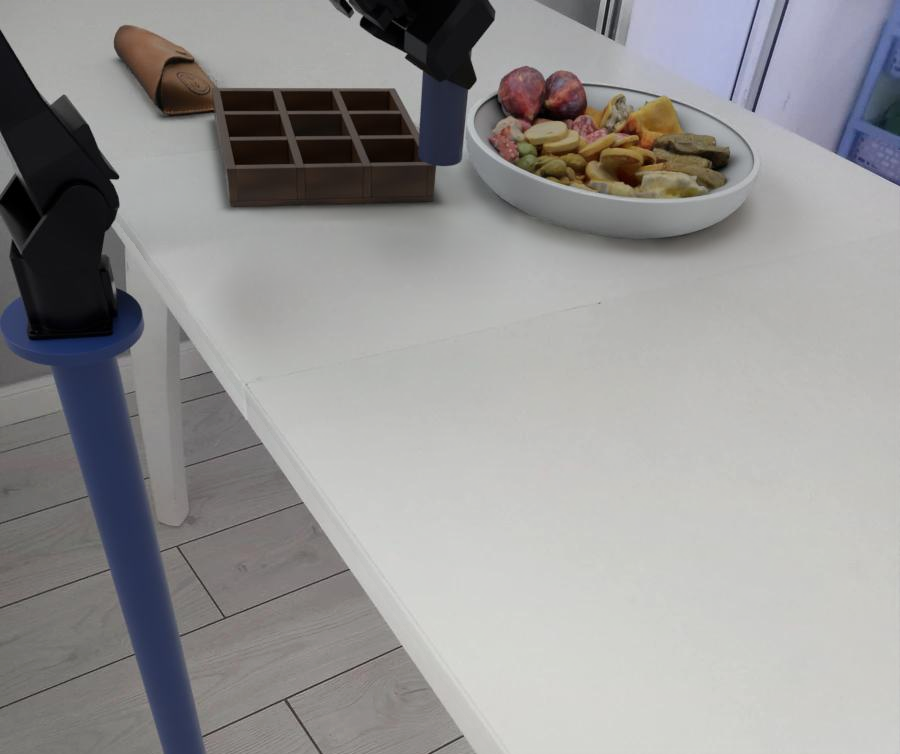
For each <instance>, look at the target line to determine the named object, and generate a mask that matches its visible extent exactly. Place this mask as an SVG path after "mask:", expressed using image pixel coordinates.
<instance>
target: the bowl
mask: <svg viewBox="0 0 900 754" xmlns="http://www.w3.org/2000/svg"><path fill="white" fill-rule="evenodd" d="M465 142H466V149H467V153H468V155H469V156H468V157H469V159H470V161H471V164H472V165H473V168H474V169H475V171H476V173H477V174H478V176H479V177H480V178H481V180H482V181H483V182H484V183H485V184H486V185H487V187H488V188H490V190H491V191H493V192H494V193H495V194H497V196H499V197H500V198H501V199H502V200H504V201H505V202H507V203H508V204H509V205H511V206H513V207H515V208H517V209H518V210H520V211H522V212H524V213H526V214H528V215H530V216H532V217H534V218H536V219H539V220H542V221H545V222H547V223H550V224H552V225H555V226H558V227H562V228H566V229H570V230H573V231H578V232H581V233H587V234H591V235H598V236H604V237H612V238H620V239H621V238H623V239H660V238H671V237H676V236H682V235H688V234H691V233H695V232H699V231H702V230H704V229H706V228H709V227H711V226H713V225H716V224H719V222H721V221H723V220H724V219H726V218H728V217H729V216H730V215H732V214H733V213H734V212H735V211H736V210H737V209H739V208H740V207H741V205H742V204H743V203H745V201H746V200H747V199H748V197H749V195H750V194H751V192H752V190H753V189H754V187H755V185H756V183H757V180H758V177H759V174H760V171H761V167H762V160H761V159H762V158H761V155H760V152H759V150H758V148H757V146H756V145H755V143H754V141H752V139H750V137H749V136H748V135H746V133H745V132H743V130H741V129H739V128H738V127H737V126H735V125H734V124H733V123H732V122H730V121H728V120H727V119H726V118H725V119H724V118H723V117H722V116H719V115H717V114H715V112H712V111H710V110H707V109H706V108H704V107H701V106H698V105H696V104H693V103H691V102H688V101H686V100H682V99H680V98H677V97H673V96H671V95H666V94H663V93H659V92H655V91H652V90H646V89H643V88H638V87H632V86H629V85H622V84H615V83H607V82H601V81H600V82H599V81H588V80H587V81H586V80H580V79H579V77H578V75H576V74H575V73H573V72H572V71H568V70H562V69H561V70H557V71H555V72H553V73H551V74H550V75H549V76H548V77H547V78H546V79H545V76H544V75H543V73H542V72H540V70H538V69H537V68H535V67H532V66H529V65H523V66H520V67H517V68H514V69H513V70H511V71H509V72H508V73H506V74H505V75H504V76H503V77H502V78H501V80H500V82H499V86H498V89H497V90H495V91H493V92H490V93H489V94H487V95H485V96H483V97H481V98H480V99H478V100H477V101H476V102H475V103H474V104H473V106H472V107H471V108H470V109H469V111H468V114H467V116H466V123H465Z"/></svg>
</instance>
